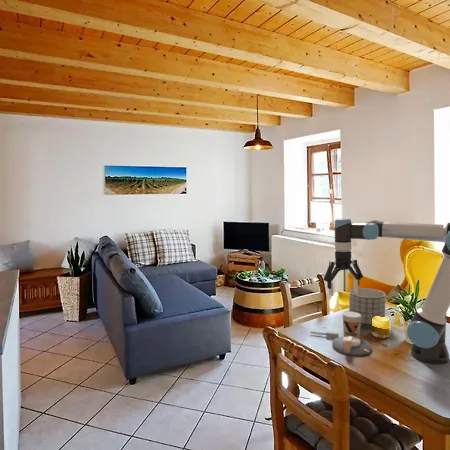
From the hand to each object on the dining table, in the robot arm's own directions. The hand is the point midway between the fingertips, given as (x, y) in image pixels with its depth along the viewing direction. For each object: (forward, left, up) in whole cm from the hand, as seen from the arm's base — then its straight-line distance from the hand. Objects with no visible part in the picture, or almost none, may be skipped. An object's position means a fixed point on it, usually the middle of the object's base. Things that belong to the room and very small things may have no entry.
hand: (343, 293), depth 172 cm
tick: (-12, +4, -25) cm, 28 cm away
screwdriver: (+10, -7, -26) cm, 29 cm away
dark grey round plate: (-4, 0, -26) cm, 27 cm away
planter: (-6, -36, -26) cm, 45 cm away
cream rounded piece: (-4, +4, -24) cm, 25 cm away
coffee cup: (-2, -13, -26) cm, 30 cm away
